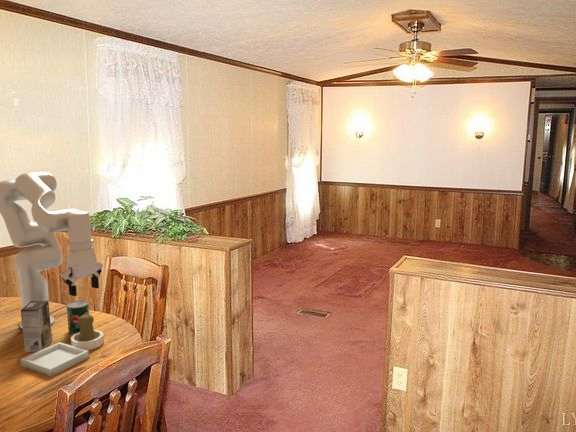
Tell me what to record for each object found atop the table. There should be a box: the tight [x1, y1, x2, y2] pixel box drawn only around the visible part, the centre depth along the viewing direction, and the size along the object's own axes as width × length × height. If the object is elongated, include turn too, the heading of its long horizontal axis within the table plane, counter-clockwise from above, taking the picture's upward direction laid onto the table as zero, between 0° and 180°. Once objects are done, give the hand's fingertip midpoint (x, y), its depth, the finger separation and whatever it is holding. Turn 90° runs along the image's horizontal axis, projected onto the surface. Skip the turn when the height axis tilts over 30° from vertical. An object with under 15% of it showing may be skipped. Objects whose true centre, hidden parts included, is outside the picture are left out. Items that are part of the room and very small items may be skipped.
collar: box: [70, 329, 105, 351], centre depth 179 cm, size 11×11×3 cm
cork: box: [78, 314, 96, 341], centre depth 178 cm, size 6×6×11 cm
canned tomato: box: [66, 300, 90, 335], centre depth 190 cm, size 8×8×11 cm
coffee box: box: [20, 300, 53, 353], centre depth 175 cm, size 9×6×16 cm
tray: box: [20, 341, 90, 377], centre depth 165 cm, size 15×15×2 cm
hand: (84, 291), depth 176 cm, fingers open, 9 cm apart
